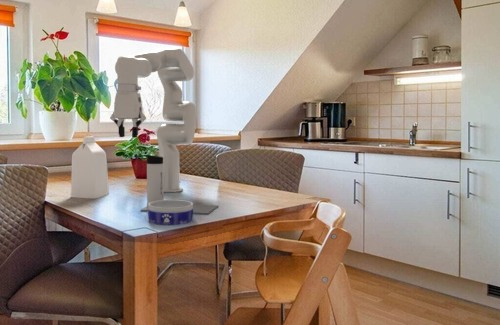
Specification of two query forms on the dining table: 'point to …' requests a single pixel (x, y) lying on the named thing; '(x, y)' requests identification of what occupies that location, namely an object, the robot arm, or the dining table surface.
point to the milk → (89, 170)
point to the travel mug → (155, 179)
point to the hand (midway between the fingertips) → (128, 136)
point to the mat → (197, 209)
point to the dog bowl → (170, 212)
